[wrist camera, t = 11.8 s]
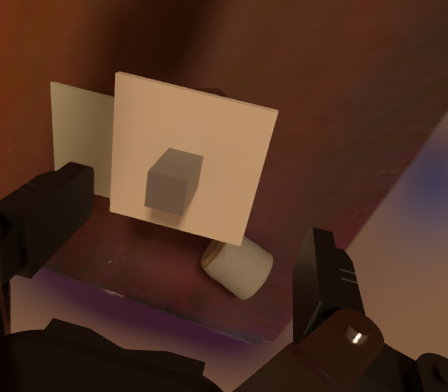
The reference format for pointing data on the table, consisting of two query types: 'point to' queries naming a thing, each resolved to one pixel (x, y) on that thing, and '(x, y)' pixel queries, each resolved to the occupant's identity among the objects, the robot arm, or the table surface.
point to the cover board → (193, 133)
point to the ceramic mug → (237, 266)
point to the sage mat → (83, 131)
